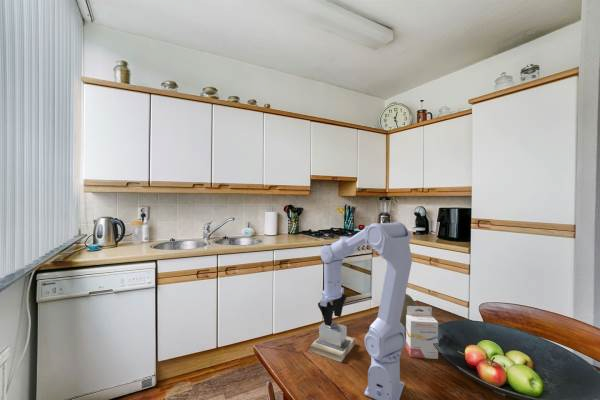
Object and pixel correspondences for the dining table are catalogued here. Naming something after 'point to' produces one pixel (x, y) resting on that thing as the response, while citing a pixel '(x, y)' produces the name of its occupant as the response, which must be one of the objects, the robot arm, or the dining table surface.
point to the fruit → (407, 302)
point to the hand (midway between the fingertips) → (333, 320)
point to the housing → (333, 334)
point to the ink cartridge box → (421, 332)
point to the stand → (332, 349)
